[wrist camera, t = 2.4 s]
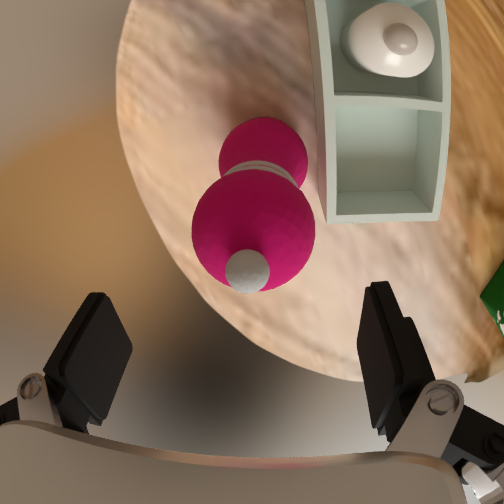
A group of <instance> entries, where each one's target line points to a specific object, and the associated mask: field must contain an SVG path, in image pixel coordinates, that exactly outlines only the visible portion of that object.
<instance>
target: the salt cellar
mask: <svg viewBox="0 0 504 504" xmlns="http://www.w3.org/2000/svg"><path fill="white" fill-rule="evenodd" d="M340 47H341V51H342V53H343V55H344V57H345V58H346V60H347V61H348V62H349V63H350V64H351V65H352V66H353V67H355V68H356V69H358V70H360V71H362V72H365V73H369V74H378V75H387V76H395V77H405V78H406V77H413V76H416V75H418V74H420V73H422V72H423V71H424V70H426V69H427V67H428V66H429V65H430V63H431V61H432V59H433V55H434V39H433V36H432V33H431V30H430V28H429V27H428V25H427V23H426V22H425V21H424V20H423V18H422V17H421V16H420V15H419V14H417V13H416V12H415V11H414V10H412V9H410V8H408V7H406V6H404V5H401V4H397V3H382V4H379V5H376V6H374V7H372V8H371V9H369V10H367V11H365V12H364V13H362V14H360V15H359V16H357V17H355V18H354V19H352V20H350V21H349V22H348V23H347V24H346V25H345V26H344V27H343V29H342V31H341V34H340Z"/></svg>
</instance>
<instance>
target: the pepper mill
mask: <svg viewBox="0 0 504 504" xmlns="http://www.w3.org/2000/svg"><path fill="white" fill-rule="evenodd" d="M307 167H308V157H307V152H306V148H305V146H304V143H303V141H302V140H301V138H300V137H299V135H298V134H297V133H296V132H295V131H294V130H293V129H292V128H290V127H289V126H287V125H286V124H285V123H283V122H282V121H280V120H277V119H275V118H270V117H260V118H255V119H252V120H250V121H247V122H245V123H243V124H240V125H239V126H237V127H236V128H235V129H234V130H233V131H231V132H230V134H229V135H228V136H227V138H226V139H225V141H224V143H223V145H222V148H221V151H220V155H219V171H220V175H221V178H220V179H219V180H217V181H216V182H214V183H213V184H212V185H211V186H210V187H209V188H208V189H207V190H206V192H205V193H204V195H203V196H202V197H201V199H200V200H199V202H198V204H197V207H196V210H195V212H194V215H193V220H192V242H193V247H194V250H195V252H196V255H197V257H198V259H199V261H200V263H201V264H202V265H203V267H204V268H205V269H206V271H207V272H208V273H209V274H210V275H212V276H213V277H214V278H215V279H216V280H218V281H220V282H221V283H223V284H225V285H227V286H230V287H232V288H233V289H235V290H236V291H238V292H240V293H245V294H248V293H255V292H257V291H266V290H270V289H274V288H276V287H278V286H281V285H282V284H284V283H286V282H288V281H289V280H291V279H292V278H293V277H294V276H295V275H297V274H298V273H299V272H300V270H301V269H302V268H303V267H304V265H305V264H306V262H307V261H308V259H309V257H310V255H311V252H312V249H313V245H314V240H315V221H314V216H313V212H312V210H311V207H310V204H309V203H308V201H307V199H306V197H305V196H304V194H303V192H302V191H301V190H299V188H300V187H301V185H302V184H303V182H304V180H305V177H306V174H307Z"/></svg>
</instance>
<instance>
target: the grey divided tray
mask: <svg viewBox="0 0 504 504" xmlns="http://www.w3.org/2000/svg"><path fill="white" fill-rule="evenodd" d="M382 3H397V4H401V5H404V6H406V7H408V8H410V9H412V10H414V11H415V12H416V13H417V14H419V15H420V16H421V17H422V18H423V20H424V21H425V22H426V23H427V25H428V27H429V28H430V30H431V33H432V36H433V39H434V55H433V59H432V61H431V63H430V65H429V66H428V67H427V69H426V70H424V71H423V72H422V73H420V74H418V75H416V76H413V77H406V78H405V77H395V76H387V75H378V74H369V73H365V72H362V71H360V70H358V69H356V68H355V67H353V66H352V65H351V64H350V63H349V62H348V61H347V60H346V58H345V57H344V55H343V53H342V51H341V47H340V34H341V31H342V29H343V27H344V26H345V25H346V24H347V23H348V22H349V21H350V20H352V19H354V18H355V17H357V16H359V15H360V14H362V13H364V12H365V11H367V10H369V9H371V8H372V7H374V6H376V5H379V4H382ZM305 6H306V14H307V22H308V31H309V40H310V50H311V60H312V72H313V84H314V98H315V113H316V131H317V153H318V186H319V199H320V202H321V206H322V209H323V213H324V217H325V220H326V224H348V223H374V222H406V221H438V220H439V214H440V209H441V202H442V196H443V189H444V182H445V174H446V165H447V155H448V144H449V130H450V107H451V71H450V49H449V36H448V25H447V16H446V8H445V1H444V0H305Z"/></svg>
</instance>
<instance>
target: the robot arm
mask: <svg viewBox="0 0 504 504" xmlns="http://www.w3.org/2000/svg"><path fill="white" fill-rule="evenodd" d="M357 351H358V355H359V360H360V365H361V370H362V375H363V380H364V385H365V390H366V395H367V401H368V407H369V412H370V418H371V424H372V427H373V428H377V430H378V435H379V436H380V435H385V434H386V436H387V441H388V442H390V444H389V446H388V447H387V449H386V451H381V452H367V453H353V454H342V455H332V456H331V455H330V456H316V457H315V456H314V457H289V458H248V457H227V456H226V457H225V456H211V455H201V454H191V453H183V452H175V451H168V450H161V449H155V448H149V447H143V446H137V445H132V444H127V443H122V442H118V441H113V440H109V439H105V438H101V437H96V436H93V435H90V434H89V432H88V429H87V426H86V425H87V423H88V422H89V423H90V424H94V425H98V426H101V424H102V421H103V420H104V419H106V417H107V415H108V412H109V409H110V406H111V404H112V401H113V399H114V396H115V393H116V391H117V388H118V386H119V383H120V380H121V378H122V375H123V373H124V370H125V368H126V365H127V362H128V360H129V358H130V355H131V353H132V343H131V341H130V339H129V337H128V335H127V333H126V331H125V329H124V327H123V325H122V323H121V321H120V319H119V317H118V315H117V313H116V311H115V308H114V306H113V304H112V302H111V300H110V298H109V297H108V296H106V294H105V293H102V292H97V293H96V292H92V293H89V295H88V296H87V297H86V299H85V300H84V302H83V303H82V305H81V307H80V308H79V310H78V311H77V313H76V314H75V316H74V318H73V319H72V321H71V322H70V324H69V326H68V327H67V329H66V331H65V332H64V334H63V335H62V337H61V339H60V341H59V342H58V344H57V346H56V348H55V349H54V351H53V353H52V354H51V356H50V358H49V360H48V362H47V363H46V365H45V367H44V369H43V371H44V372H45V376H44V377H43V376H42V375H41V374H39V373H32V374H29V375H27V376H26V377H25V378H24V379H23V380H22V381H21V382H20V384H19V386H18V389H17V397H15V398H14V399H12V400H10V401H8V402H6V403H5V404H3V405H1V406H0V504H467V501H466V497H465V493H464V490H463V486H462V484H465V485H470V486H471V487H472V488H473V489H474V490H475V491H476V492H475V493H474V494H475V495H476V496H477V498H478V499H479V501H480V502H481V504H504V425H502V424H500V423H498V422H496V421H494V420H492V419H491V418H489V417H487V416H484V415H483V414H481V413H479V412H477V411H475V410H473V409H471V408H470V407H467V406H466V405H464V397H463V394H462V392H461V390H460V389H459V387H458V386H457V385H456V384H454V383H452V382H451V381H447V380H436V379H435V376H434V373H433V371H432V368H431V365H430V362H429V360H428V357H427V354H426V352H425V349H424V346H423V344H422V341H421V339H420V336H419V334H418V331H417V329H416V326H415V324H414V322H413V320H412V318H411V317H403V315H402V312H401V310H400V308H399V305H398V303H397V300H396V298H395V296H394V293H393V291H392V289H391V286H390V284H389V282H388V281H381V282H372V283H371V285H370V287H366V288H365V294H364V301H363V308H362V314H361V320H360V326H359V331H358V337H357ZM461 483H462V484H461Z"/></svg>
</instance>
